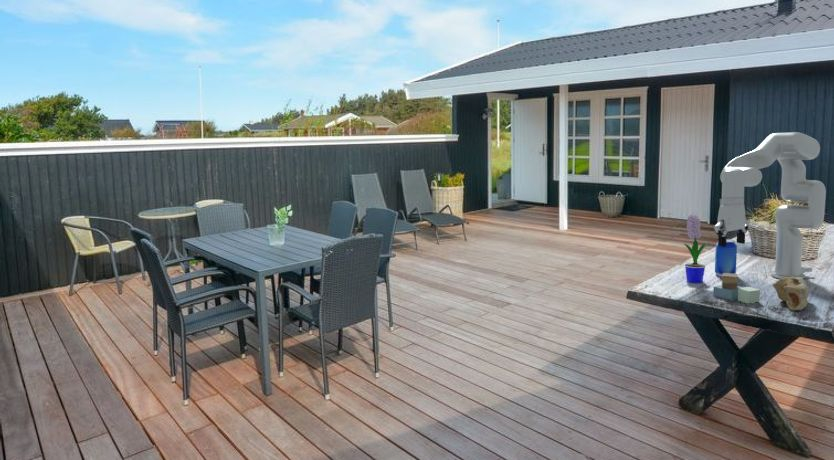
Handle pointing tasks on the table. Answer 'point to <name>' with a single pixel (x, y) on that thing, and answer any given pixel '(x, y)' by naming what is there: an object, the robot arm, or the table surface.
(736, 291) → the base block
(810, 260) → the table surface
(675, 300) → the table surface
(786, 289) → the stone
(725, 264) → the beer can
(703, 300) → the table surface
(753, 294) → the sage cube
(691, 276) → the hyacinth
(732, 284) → the walnut cube
